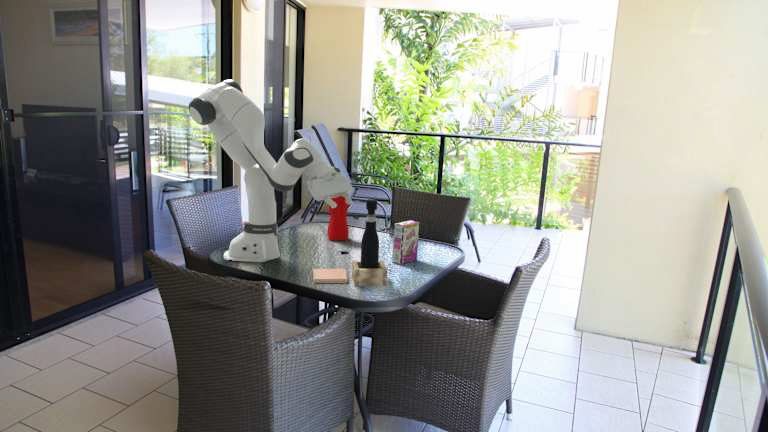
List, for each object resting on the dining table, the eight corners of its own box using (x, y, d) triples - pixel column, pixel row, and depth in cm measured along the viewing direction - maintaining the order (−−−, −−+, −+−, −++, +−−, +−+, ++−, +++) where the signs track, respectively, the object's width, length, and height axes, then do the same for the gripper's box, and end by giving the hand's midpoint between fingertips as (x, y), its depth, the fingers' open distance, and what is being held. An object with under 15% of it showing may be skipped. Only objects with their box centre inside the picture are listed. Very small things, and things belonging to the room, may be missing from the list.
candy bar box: (401, 265, 232) (403, 225, 229) (391, 262, 235) (393, 223, 232) (417, 260, 241) (420, 221, 237) (408, 257, 244) (410, 219, 240)
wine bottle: (377, 278, 214) (380, 198, 208) (377, 284, 208) (381, 202, 202) (360, 277, 214) (362, 198, 208) (359, 283, 208) (362, 201, 202)
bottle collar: (354, 286, 205) (355, 269, 203) (351, 276, 216) (352, 260, 214) (386, 285, 206) (387, 269, 205) (382, 275, 217) (382, 260, 216)
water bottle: (322, 237, 272) (323, 184, 267) (345, 236, 276) (346, 184, 271) (326, 241, 264) (327, 187, 259) (349, 241, 267) (351, 187, 262)
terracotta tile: (313, 283, 206) (313, 279, 206) (313, 272, 218) (313, 269, 217) (347, 282, 208) (347, 278, 208) (344, 272, 219) (344, 268, 219)
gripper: (308, 173, 204) (330, 204, 201) (342, 168, 221) (363, 196, 218) (299, 184, 208) (320, 214, 205) (333, 178, 225) (353, 206, 222)
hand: (342, 205), depth 212 cm, fingers open, 8 cm apart
